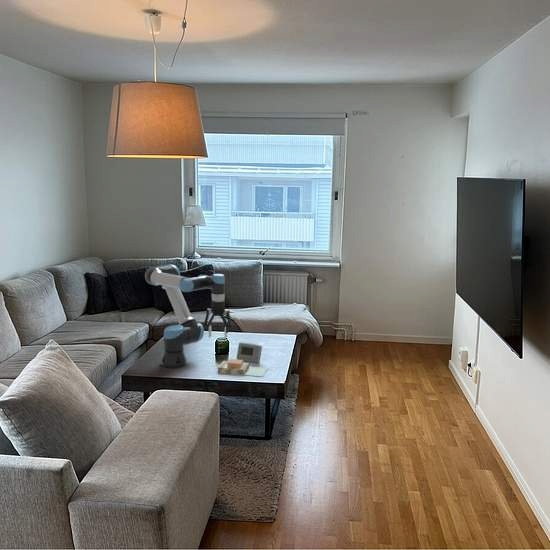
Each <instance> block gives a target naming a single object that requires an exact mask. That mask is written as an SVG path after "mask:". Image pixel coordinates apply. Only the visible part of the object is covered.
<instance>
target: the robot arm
mask: <svg viewBox="0 0 550 550" xmlns="http://www.w3.org/2000/svg"><path fill="white" fill-rule="evenodd" d="M225 278H226V277H225V274H223V273H213V274H211V275H207V274H199V275H198V276H196V277H195V276H194V277H186V276H182V275H181V271H180V270H179V268H178V266H177V265H175V264H171V263H170V264H169V263H168V264H162V265H161V264H160V265H154V266H151V267H148V269H146V271H145V273H144V279H145V281H146V282H147V283H148V284H149V285H152V286H159V285H160V286H161V288H162V289H163V290H165V292H166V295H167V297H168V299H169V301H170V304H171V306H172V308H173V311H174V313H175V316H176V319H177V321H178V324H171V325H169V326H166V327H165V328H164V330H163V348H164V349H163V351H164V352H163V354H162V358H161V363H160V364H161V366H162V367H163V368H167V369H168V368H169V369H177V368H182V367H185V366H186V365H187V364H186V363H187V362H188V361H187V358H186V355H185V351H184V350H185V349H184V348H185V347H184V346H187V345H189V344H194V343H197V342H200V341H201V340H203V338H204V334H205V330H204V326H206V331H207V332H208V338H211V337H212V325H211V324H212V322H213V320H214V318H215V317H220V318H221V320H222V322H223V324H224V326H225V327H224V339H225V340H226V339H227V338H228V334H229V330H230V328H231V327H232V326H233V324H232V319H231V314H230V312H231V311H230V309H226V308H225V305H226V304H225V302H226V301H225V297H226V296H225V293H226V292H225V289H226V288H225V287H226V286H225V285H226V279H225ZM205 289H209V290H211V308H207V309H206V314H205V318H204V323H203V324H202V323H201V322H197V319H196V318H194V317H193V316H192V314H191V313H190V309H189V307H188V305H187V301H186V300H185V298H184V295H183V293H190V292H193V291H199V290H205ZM182 292H183V293H182ZM211 313H212V315H211V316H210V314H211ZM225 314H226V317H225ZM209 317H210V319H209ZM203 325H204V326H203Z"/></svg>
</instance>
